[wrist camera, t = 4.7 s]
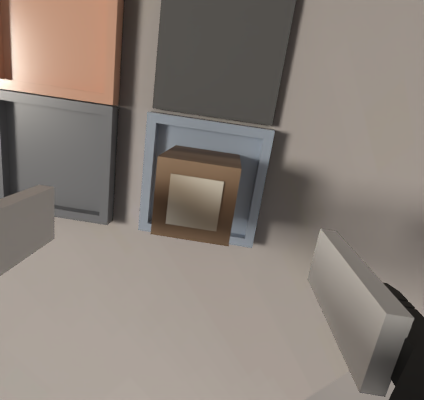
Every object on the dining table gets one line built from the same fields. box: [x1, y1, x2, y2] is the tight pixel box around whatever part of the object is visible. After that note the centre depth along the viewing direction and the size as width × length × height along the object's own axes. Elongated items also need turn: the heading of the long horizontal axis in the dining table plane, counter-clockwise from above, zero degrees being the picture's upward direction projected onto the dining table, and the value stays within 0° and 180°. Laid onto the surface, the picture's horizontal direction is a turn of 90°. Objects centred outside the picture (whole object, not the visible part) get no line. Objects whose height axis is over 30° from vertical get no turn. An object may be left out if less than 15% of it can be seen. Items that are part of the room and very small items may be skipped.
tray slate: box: [138, 112, 275, 248], centre depth 24 cm, size 9×9×1 cm
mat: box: [153, 0, 296, 126], centre depth 22 cm, size 9×9×1 cm
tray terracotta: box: [0, 0, 124, 105], centre depth 22 cm, size 9×9×1 cm
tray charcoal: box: [0, 89, 119, 225], centre depth 25 cm, size 9×9×1 cm
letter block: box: [151, 145, 242, 246], centre depth 22 cm, size 5×5×6 cm
